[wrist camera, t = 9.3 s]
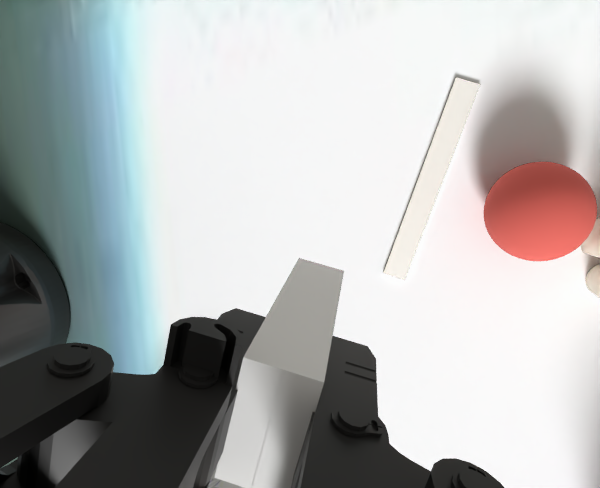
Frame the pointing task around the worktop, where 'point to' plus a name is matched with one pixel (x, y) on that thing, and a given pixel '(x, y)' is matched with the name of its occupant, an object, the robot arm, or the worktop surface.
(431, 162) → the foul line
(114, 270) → the worktop surface
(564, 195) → the ball
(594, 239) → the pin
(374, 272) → the worktop surface
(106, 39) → the worktop surface
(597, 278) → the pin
